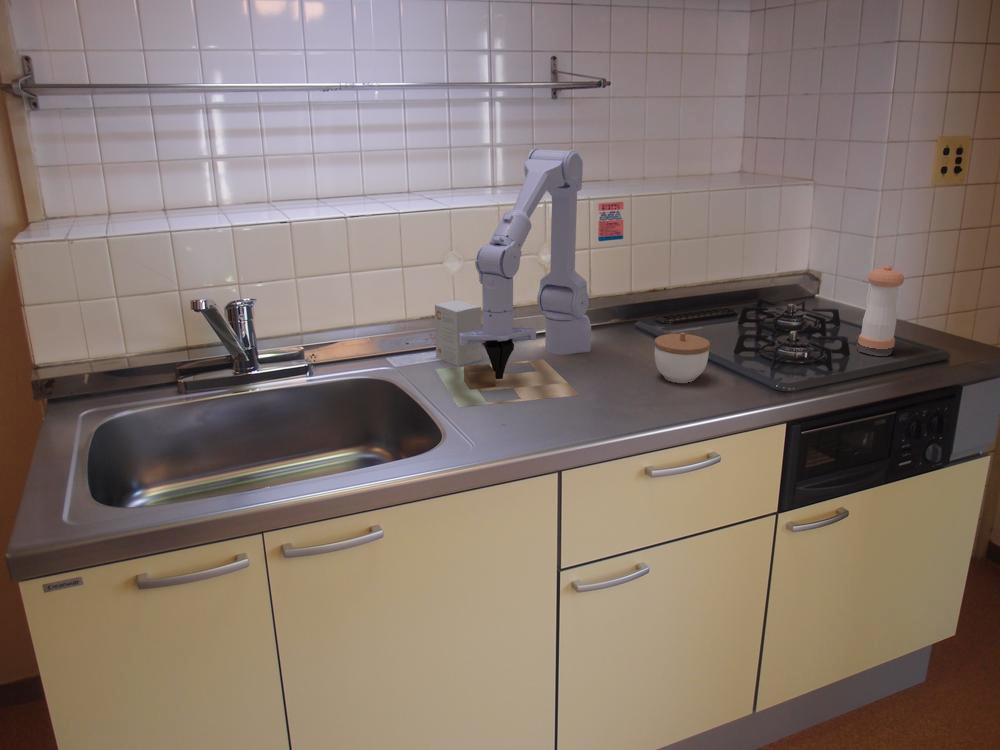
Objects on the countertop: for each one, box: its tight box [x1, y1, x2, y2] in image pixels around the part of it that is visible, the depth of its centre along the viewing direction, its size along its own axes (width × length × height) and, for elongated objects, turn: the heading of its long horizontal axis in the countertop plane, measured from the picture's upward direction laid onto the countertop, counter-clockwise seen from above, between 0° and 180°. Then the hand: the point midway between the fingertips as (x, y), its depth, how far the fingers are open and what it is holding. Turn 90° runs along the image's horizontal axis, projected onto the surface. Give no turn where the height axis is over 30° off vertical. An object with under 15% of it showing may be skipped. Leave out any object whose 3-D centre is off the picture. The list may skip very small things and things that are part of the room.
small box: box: [434, 299, 483, 367], centre depth 170 cm, size 8×6×13 cm
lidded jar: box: [654, 332, 711, 384], centre depth 162 cm, size 11×11×9 cm
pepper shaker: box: [857, 265, 905, 349], centre depth 176 cm, size 7×7×19 cm
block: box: [463, 363, 496, 389], centre depth 156 cm, size 5×5×3 cm
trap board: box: [434, 359, 581, 409], centre depth 158 cm, size 23×22×2 cm
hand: (498, 377), depth 157 cm, fingers closed
